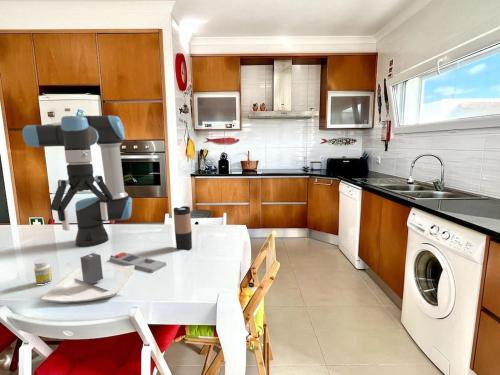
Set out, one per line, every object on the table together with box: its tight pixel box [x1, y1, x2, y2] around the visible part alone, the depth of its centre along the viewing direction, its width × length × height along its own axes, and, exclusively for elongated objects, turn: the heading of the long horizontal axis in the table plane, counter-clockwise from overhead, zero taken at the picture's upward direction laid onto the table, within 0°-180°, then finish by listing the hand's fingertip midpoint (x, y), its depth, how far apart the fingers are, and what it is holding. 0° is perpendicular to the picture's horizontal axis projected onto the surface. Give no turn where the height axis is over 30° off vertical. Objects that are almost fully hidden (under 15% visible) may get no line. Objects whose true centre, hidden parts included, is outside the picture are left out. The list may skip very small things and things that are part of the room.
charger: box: [79, 252, 104, 285], centre depth 100 cm, size 4×4×9 cm
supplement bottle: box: [34, 258, 53, 285], centre depth 104 cm, size 5×5×8 cm
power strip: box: [109, 252, 167, 273], centre depth 118 cm, size 30×7×3 cm, turn 61°
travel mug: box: [173, 205, 193, 251], centre depth 134 cm, size 8×8×20 cm
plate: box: [41, 265, 136, 304], centre depth 101 cm, size 24×24×3 cm
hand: (86, 224), depth 98 cm, fingers open, 13 cm apart
